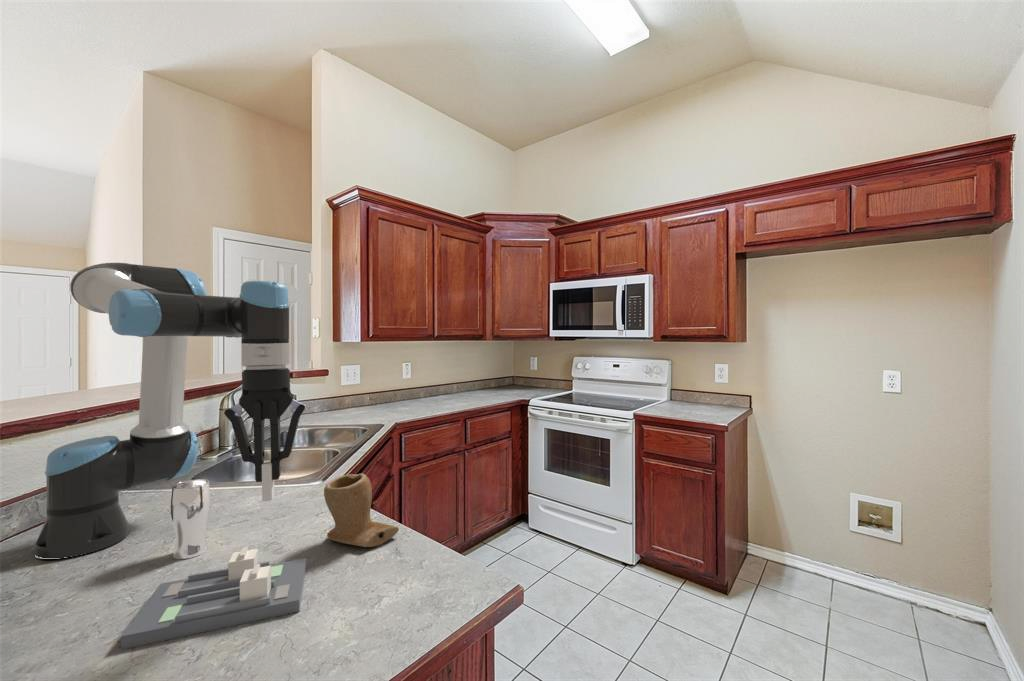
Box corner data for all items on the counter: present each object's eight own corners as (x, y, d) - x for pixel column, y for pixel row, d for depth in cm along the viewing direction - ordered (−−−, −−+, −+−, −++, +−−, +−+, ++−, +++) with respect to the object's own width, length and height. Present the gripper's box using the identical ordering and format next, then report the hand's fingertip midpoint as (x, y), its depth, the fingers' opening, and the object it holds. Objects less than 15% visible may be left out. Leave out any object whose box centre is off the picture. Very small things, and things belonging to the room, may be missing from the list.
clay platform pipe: (312, 545, 96) (312, 479, 96) (353, 524, 107) (353, 465, 107) (362, 560, 90) (361, 489, 90) (400, 537, 100) (400, 473, 100)
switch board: (121, 649, 64) (120, 629, 64) (160, 594, 78) (160, 577, 78) (299, 611, 73) (299, 593, 73) (306, 567, 87) (306, 553, 87)
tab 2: (239, 606, 71) (239, 577, 71) (244, 592, 74) (244, 565, 74) (267, 600, 72) (267, 572, 72) (271, 587, 76) (270, 561, 76)
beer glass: (217, 547, 95) (217, 480, 95) (185, 563, 89) (185, 491, 89) (196, 543, 98) (196, 477, 98) (162, 557, 91) (162, 487, 91)
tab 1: (228, 584, 77) (228, 558, 77) (233, 573, 81) (233, 548, 81) (253, 580, 78) (253, 554, 78) (258, 569, 82) (257, 544, 82)
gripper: (217, 370, 71) (219, 511, 71) (304, 367, 76) (306, 500, 76) (229, 368, 78) (231, 497, 78) (308, 365, 83) (310, 487, 83)
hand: (268, 498), depth 77 cm, fingers closed
